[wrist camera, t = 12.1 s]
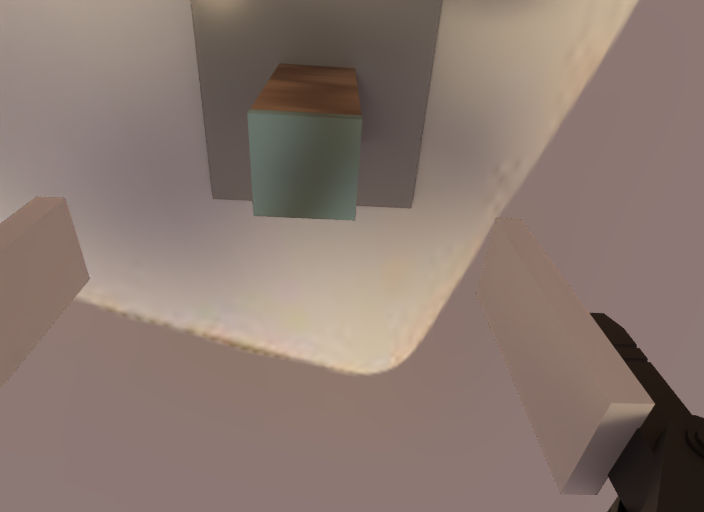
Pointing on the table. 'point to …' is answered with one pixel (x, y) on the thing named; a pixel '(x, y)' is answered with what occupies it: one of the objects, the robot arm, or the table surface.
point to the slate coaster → (319, 50)
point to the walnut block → (306, 143)
